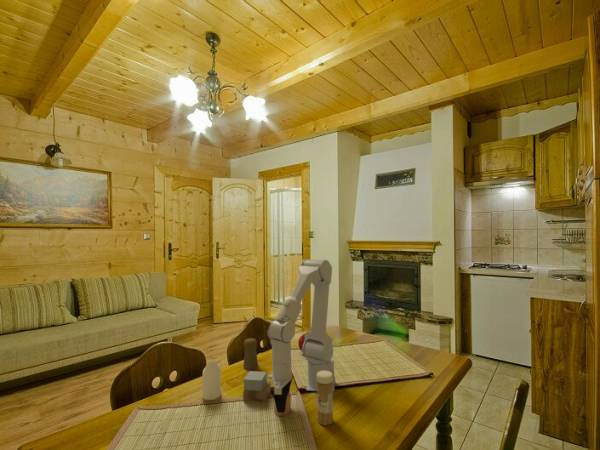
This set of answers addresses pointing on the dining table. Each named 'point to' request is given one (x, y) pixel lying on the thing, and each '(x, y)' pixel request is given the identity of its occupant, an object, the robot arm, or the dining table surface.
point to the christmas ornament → (302, 341)
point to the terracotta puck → (287, 409)
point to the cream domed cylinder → (211, 381)
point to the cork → (250, 354)
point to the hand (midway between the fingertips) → (282, 406)
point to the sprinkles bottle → (325, 397)
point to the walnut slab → (257, 394)
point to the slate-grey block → (255, 381)
